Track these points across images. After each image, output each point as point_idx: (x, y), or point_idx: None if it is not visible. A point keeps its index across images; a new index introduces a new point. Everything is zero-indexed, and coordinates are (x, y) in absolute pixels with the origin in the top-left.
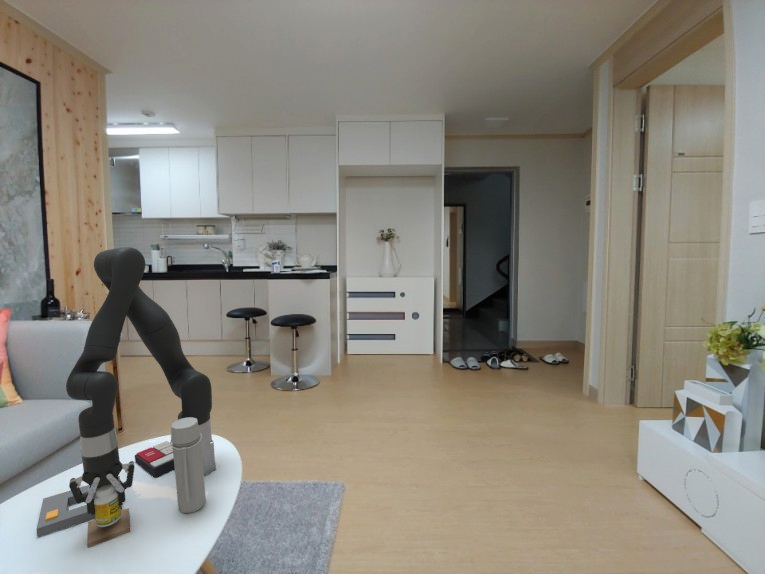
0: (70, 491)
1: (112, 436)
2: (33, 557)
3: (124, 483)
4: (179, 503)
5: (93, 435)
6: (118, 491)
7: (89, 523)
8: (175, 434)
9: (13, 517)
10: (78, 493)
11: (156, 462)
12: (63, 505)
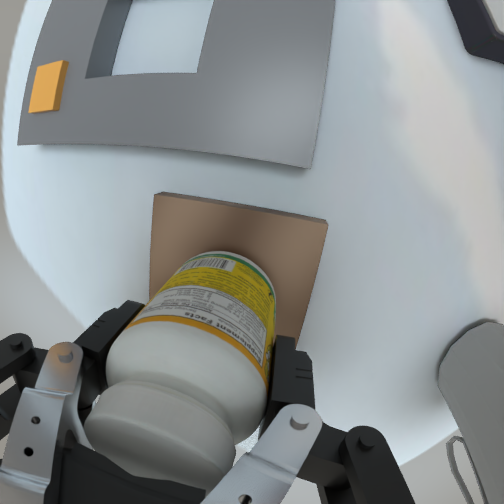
0: None
1: None
2: (41, 242)
3: (315, 470)
4: (449, 394)
5: None
6: (265, 425)
7: (157, 213)
8: None
9: (32, 6)
10: (6, 431)
11: (501, 8)
12: (87, 30)
